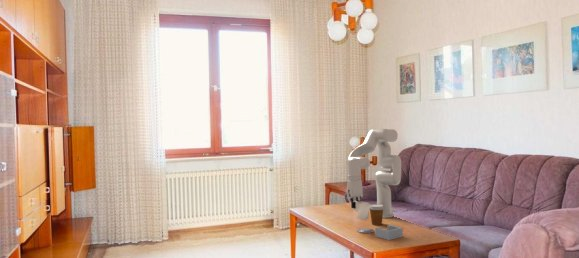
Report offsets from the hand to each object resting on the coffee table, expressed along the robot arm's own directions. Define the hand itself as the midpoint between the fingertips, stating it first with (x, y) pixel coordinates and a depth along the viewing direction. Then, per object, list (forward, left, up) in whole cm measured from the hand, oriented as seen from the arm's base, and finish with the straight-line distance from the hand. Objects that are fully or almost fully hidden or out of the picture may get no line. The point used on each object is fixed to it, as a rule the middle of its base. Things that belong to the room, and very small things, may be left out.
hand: (355, 207), depth 269 cm
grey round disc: (0, +8, -13) cm, 15 cm away
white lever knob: (0, +3, -5) cm, 6 cm away
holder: (-2, +24, -13) cm, 28 cm away
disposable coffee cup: (-18, 0, -13) cm, 23 cm away
